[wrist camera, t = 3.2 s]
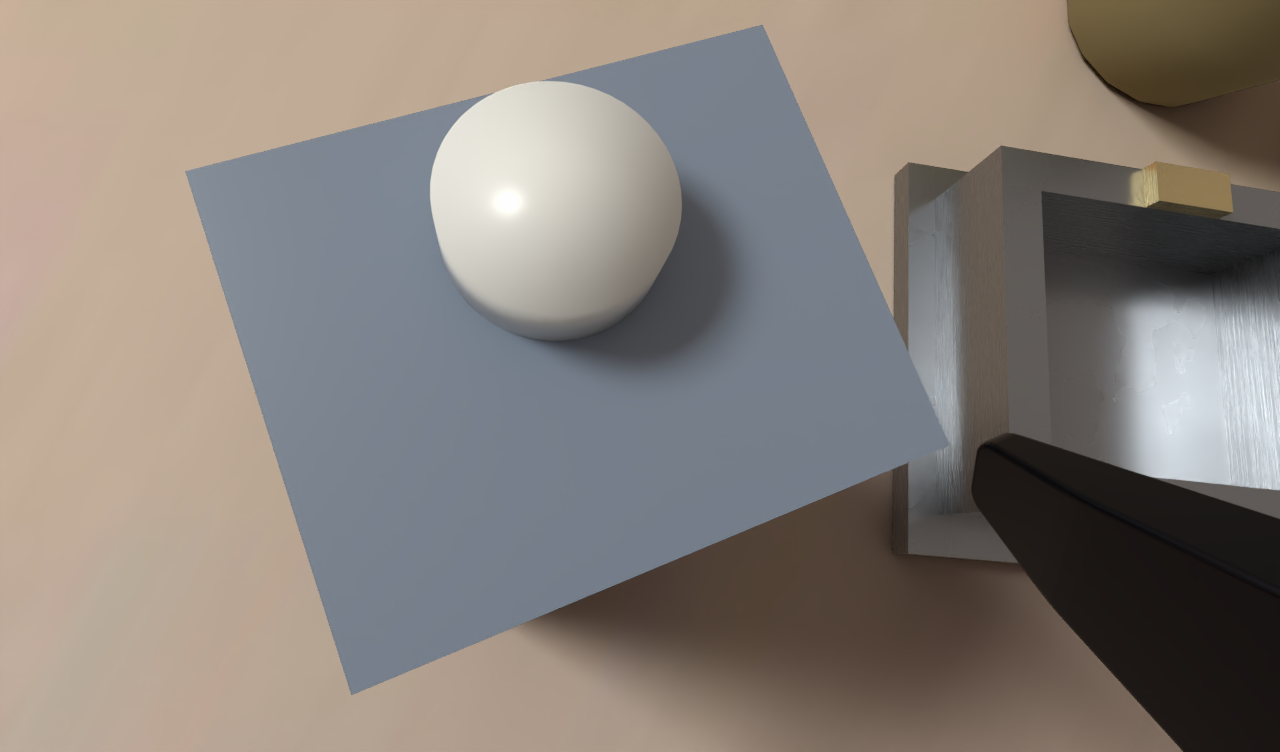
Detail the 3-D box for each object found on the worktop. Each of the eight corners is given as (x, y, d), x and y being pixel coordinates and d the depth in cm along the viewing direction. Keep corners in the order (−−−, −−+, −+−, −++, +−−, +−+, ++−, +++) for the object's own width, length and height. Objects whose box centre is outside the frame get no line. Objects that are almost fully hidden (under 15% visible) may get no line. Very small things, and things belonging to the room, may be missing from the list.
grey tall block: (672, 508, 19) (1002, 433, 6) (455, 595, 18) (327, 717, 5) (607, 340, 20) (790, -33, 7) (392, 413, 19) (142, 121, 6)
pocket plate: (1268, 584, 21) (1445, 593, 17) (892, 553, 20) (991, 555, 16) (1233, 229, 24) (1382, 164, 20) (894, 175, 22) (980, 93, 18)
